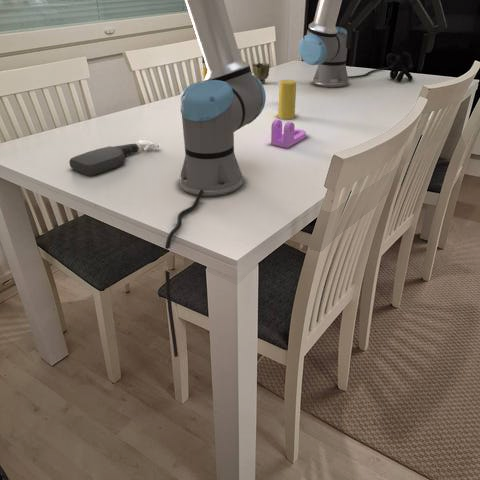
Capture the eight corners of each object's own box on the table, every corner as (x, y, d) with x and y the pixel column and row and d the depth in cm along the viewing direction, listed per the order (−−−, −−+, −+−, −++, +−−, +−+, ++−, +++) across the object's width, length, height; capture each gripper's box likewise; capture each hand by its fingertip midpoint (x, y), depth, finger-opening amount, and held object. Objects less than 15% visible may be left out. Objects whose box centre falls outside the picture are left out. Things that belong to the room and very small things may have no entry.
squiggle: (400, 92, 202) (376, 71, 205) (417, 76, 202) (392, 56, 205) (405, 81, 191) (380, 59, 194) (423, 64, 191) (397, 42, 194)
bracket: (287, 148, 130) (288, 124, 126) (271, 144, 133) (271, 121, 129) (309, 135, 139) (310, 113, 135) (293, 132, 142) (294, 110, 138)
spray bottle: (67, 168, 120) (139, 144, 136) (91, 178, 114) (163, 151, 130) (65, 157, 118) (137, 134, 134) (89, 167, 112) (162, 142, 128)
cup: (250, 84, 198) (249, 65, 194) (257, 80, 204) (257, 62, 200) (265, 85, 195) (265, 66, 191) (272, 82, 201) (272, 63, 197)
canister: (290, 113, 160) (291, 79, 153) (297, 118, 155) (299, 82, 149) (275, 115, 158) (276, 80, 152) (282, 120, 153) (283, 84, 147)
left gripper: (479, -58, 79) (451, 68, 90) (340, -55, 88) (329, 60, 99) (479, -59, 73) (449, 76, 84) (330, -55, 82) (320, 66, 93)
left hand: (384, 67), depth 92 cm, fingers open, 13 cm apart
